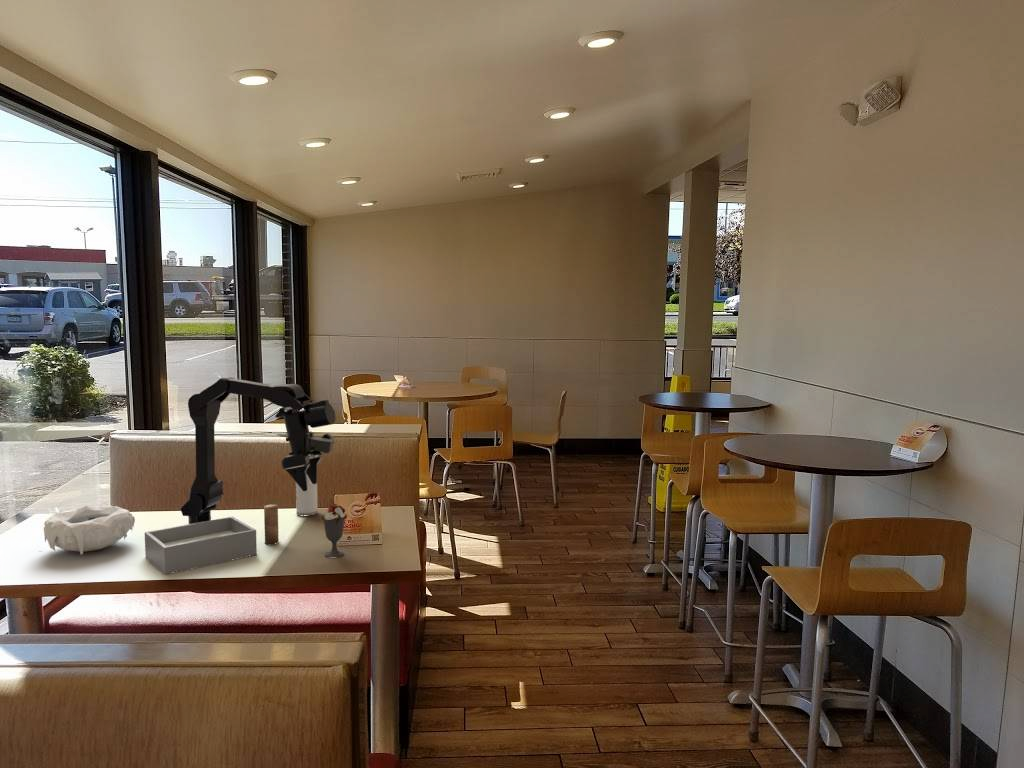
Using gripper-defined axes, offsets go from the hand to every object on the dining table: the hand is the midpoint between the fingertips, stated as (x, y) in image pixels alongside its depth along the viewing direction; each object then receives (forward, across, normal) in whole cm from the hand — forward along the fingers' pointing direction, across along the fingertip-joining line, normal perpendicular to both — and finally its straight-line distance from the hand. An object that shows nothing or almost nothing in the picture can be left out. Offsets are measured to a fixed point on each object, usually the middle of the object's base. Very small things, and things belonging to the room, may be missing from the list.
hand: (310, 487), depth 194 cm
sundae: (+17, -11, -6) cm, 21 cm away
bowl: (+4, -8, +57) cm, 58 cm away
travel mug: (+12, +27, +11) cm, 32 cm away
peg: (+12, -1, +13) cm, 18 cm away
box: (+10, -12, +27) cm, 31 cm away
